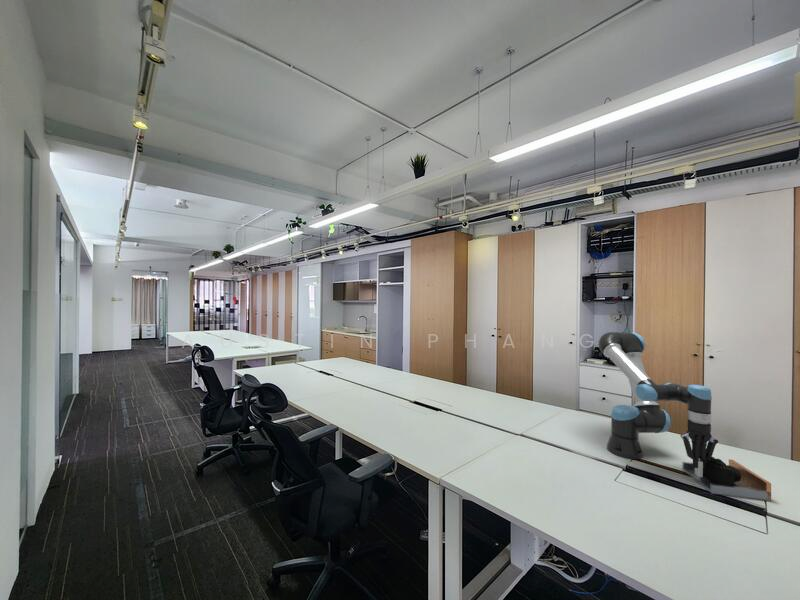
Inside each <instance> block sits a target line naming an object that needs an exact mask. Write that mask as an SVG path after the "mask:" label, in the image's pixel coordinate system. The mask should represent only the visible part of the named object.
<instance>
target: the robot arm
mask: <svg viewBox="0 0 800 600" xmlns="http://www.w3.org/2000/svg"><path fill="white" fill-rule="evenodd" d="M598 348H599V351H600V352H601V353H602V354H603V355H604V357H606V358H609V359H610V360H611V361H612V363H614V365H615V366H616V367H617V368H618V369H619V370H620V371H621V372H622V373H623V375H625V377H626V378H627V379H628V382H629V385H630V389H631V391H632V395H633V399H634V405H627V404H618V405H615V406H613V407H612V408H611V415H610V416H611V420H610V421H611V427H610V428H611V429H610V432H611V434H610V436H609V439H608V442H607V443H606V444H607V445H606V449H607V451H608V452H609V453H611V454H614V455H616V456H619V457H620V458H621V457H622V458H625V459H631V460H639V459H640V460H641V459H642V458H643V456H644V453H643V449H642V446H641V444H640V441H639V436H640V435H639V434H649V433H650V434H659V433H666V432H668V431H669V430H670V428H671V421H672V420H671V417H670V415H669V413H668V412H667V411H666V410H665V409H662V408H661V405H660V403H657V402H680V403H684V404H685V405H686V404H687V431H686V433H685V434H680V438H681V439H682V440H683V445H684V447H685V451H686V456H687V457H688V458H690V459H691V460H692V463H693V466H694V467H695V474H696V475H697V476H699V477H703V469H705V463H706V462H707V461H710V460H711V458H712V457H713V454H714V450H715V449H716V445H717V444H718V443H719V440H718V439H717V438H715V437H713V436H712V434H711V432H712V424H711V423H712V390H711V388H710V387H708V386H705V385H701V384H689V385H688V386H684V385H681V384H679V383H673V382H666V383H663V384H658V383H655V381H653V380H652V378H651V377H650V376H649V375H648V374H647V373H646V369H645V367H644V363H643V359H642V356H643V355H644V353H643V352H644V351H645V349H646V341H645V339H644V338H643V336H642V335H640V334H638V333H637V332H631V331H626V332H624V331H623V332H620V331H619V332H618V331H610V332H606V333H604V334H602V335H601V336H600V337H599V340H598ZM690 440H691V442H690Z"/></svg>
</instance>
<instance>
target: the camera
mask: <svg viewBox="0 0 800 600" xmlns="http://www.w3.org/2000/svg"><path fill="white" fill-rule="evenodd" d="M703 476H704V477H705V478H707V479H708V480H710V481H711V482H713V483H714V484H719V485H727V486H734V482H738V481H740V479H741V475H740V473H739V471H738V470H737V469H736V468H735V467H733V466H729V464H726V463H725V462H724V461H723V460H722V459H720V458H715V457H714V456H712V458H711V460H710V461H707V462H706V463H705V469H703Z"/></svg>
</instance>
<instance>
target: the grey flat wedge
mask: <svg viewBox="0 0 800 600" xmlns="http://www.w3.org/2000/svg"><path fill="white" fill-rule="evenodd" d="M728 465H729V466H733V467H735V468H736V469H737V470H738V471H739V473H740V475H741V479H740V481H738V482H734V486H727V485H719V484H714V483H713V482H711V481H710V480H708V479H707V478H705V477H704V476H703V477H699V476H697V475H696V474H695V467H694V466H693V462H686V461H682V465H681V467H682V468H681V469H682V471H684V472H685V473H686V474H687V475H689V476H690V477H691V478H692V479H694V480H695V481H696V482H697V483H699V484H700V485H701V486H702V487H704V488H705V489H706V490H707V491H708V492H710V493H711V494H712V495H720V496H729V497H736V498H745V499H750V498H754V499H753V500H758V499H761V500H760V501H767V502H768V501H769V502H772V483H771V482H770V481H768V480H766V479H765V478H763V477H762V476H760V475H758V474H756V473H755V472H753V471H752V470H750V469H749V468H747V467H745V466H743V465H742V464H740V463H739V462H737V461H736V460H734V459H730V458H729V459H728Z"/></svg>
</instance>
